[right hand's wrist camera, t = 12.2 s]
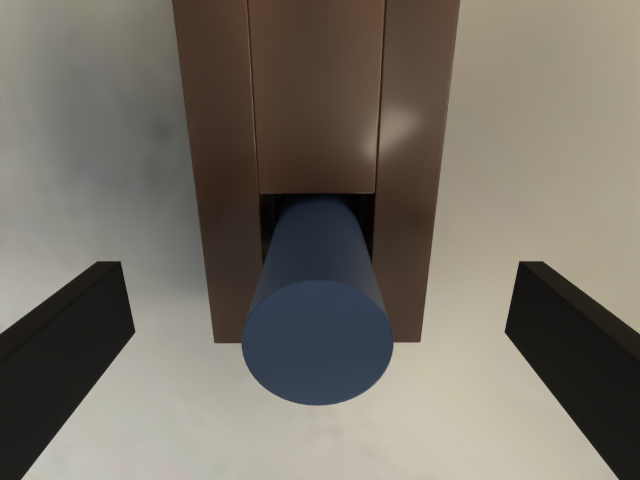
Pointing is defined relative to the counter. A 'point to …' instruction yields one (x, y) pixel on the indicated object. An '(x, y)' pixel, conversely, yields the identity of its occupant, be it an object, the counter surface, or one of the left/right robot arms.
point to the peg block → (316, 133)
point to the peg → (317, 307)
